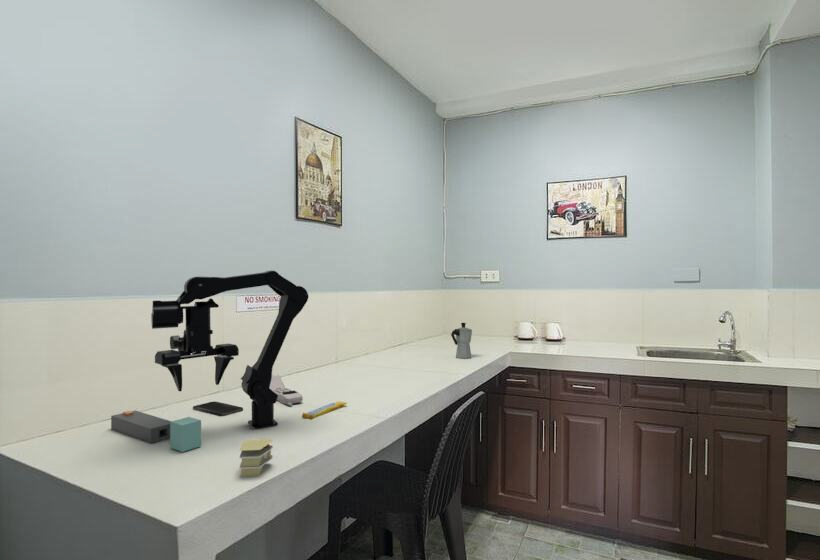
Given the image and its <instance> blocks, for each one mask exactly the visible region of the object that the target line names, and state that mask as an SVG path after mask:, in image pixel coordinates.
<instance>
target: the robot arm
mask: <svg viewBox="0 0 820 560" xmlns="http://www.w3.org/2000/svg"><path fill="white" fill-rule="evenodd" d="M265 286H267V287H269V288H270V289H271V290H272V291H273V292H274V293H276V295H278V296H280V299H279V302H278V312H277V316H276V317H275V318H276V319H275V320H274V323H273V324H272V327H271V330H270V332H269V333H268V336H267V338H266V340H265V343H264V346H263V347H262V350H261V352H260V353H259V356H258V359H257V361H255V363H254V364H253V365H252V366H251V365H246V367H245V371H244V373H243V375H242V376H241V377H240V380H241V388H242V391H243V392H244V393H245V394H246V395H247V396H249V398H250V400H252V401H251V419H250V420H248V421H247V423H248V425H250V427H251V428H252V429H260V428H265V427H270V426H271V427H272V426H277V425H278V422H277V420H276V419H275V418H274V417H275V416H274V414H275V413H274V411H275V409H274V407H275V406H274V404H276V403H277V401H278V400H277V397H278V395H277V394H276V393H274V392H273V391H272V390H271V389H270V388H269V387H270V383H271V379H272V376H273V367H274V364H275V361H276V360H277V357H278V355H279V353H280V351H281V349H282V346H283V345H284V342H285V339H286V337H287V336H288V332H289V331H290V329H291V325H292V324H293V321H294V320H295V318H296V317H297V316H298V315H299V313H301V312H302V310H303V309H304V307H305V306H306V304H307V302H308V300H309V293H308V291H307V290H306V288H305V287H303V286H301V285H296V284H295V283H293V282H292V281H291V280H289V279H287V278H285V277H283V276H282V275H281V274H279V272H277V271H276V270H267V271H264V272H256V273H248V274H241V275H235V276H234V275H233V276H223V277H221V276H220V277H219V276H192V277H190V278H188V279H187V280H186V281H185V283H184V284H183V287H184V288H183V291H182V292H181V294H180V295H179V296H178V297H177V299H176V300H153V301H152V310H151V315H150V317H151V329H154V330H155V329H157V330H158V329H171V328H178V327H179V324H183V323H184V310H185V329H184V330H183V335H182V337H180V335H171V336H170V337H169V347H170V349H167V350H160V351H159V350H158V351H156V353H155V355H154V363H155V364H157V365H160V366H161V367H164V368H167V370H168V371H169V373H170V375H171V376H172V379H173V381H174V383H175V387H176V388H177V391H178V392H182V390H183V389H182V388H183V366H182V364H181V363H179V362H180V361H181V360H188V359H196V358H197V359H198V358H205V357H209V356H210V357H211V356H213V358H214V361H215V362H214V364H215V373H214V374H215V375H214V381H215V385H216V386H219V385H220V382H221V380H222V378H223V375H224V373H225V371H226V370H227V367H228V365H229V364H230V362H231V361H232V360H234V359H235V357H237V356H239V354H240V351H239V346H238V345H237V344H233V343H221V344H216V345H215V347H214V346H213V345H212V344H211V340H212V339H211V335H213V333H214V331H213V329H211V308H214V309H215V308H216V309H217V308H219V306H220V305H219V304H218V303H216V302H215V301H214V299H213V297H214V296H217V295H219V294H222V293H225V292H229V291H235V290H236V291H237V290H243V289H250V288H257V287H265ZM210 297H212V298H210ZM207 298H209V299H207ZM205 299H207V300H206V301H205ZM195 300H204V301H195ZM193 302H194V305H189V304H190V303H193ZM181 305H183V306H181ZM184 305H186V306H184Z"/></svg>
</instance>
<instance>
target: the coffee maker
mask: <svg viewBox="0 0 820 560" xmlns="http://www.w3.org/2000/svg"><path fill="white" fill-rule="evenodd" d="M460 324H461V327H459V328H455V329H453V330H452V332H451V334H450V336H451V338H452V340H453V343H454V344H455V346H457V347H456V353H455V359H459V360H468V359H472V352H471V351H472V350H471V345H470V344H471V341H472V334H473V329H472V328H468V327H466V324H467V323H466V322H461V323H460Z"/></svg>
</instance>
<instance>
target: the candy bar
mask: <svg viewBox="0 0 820 560" xmlns="http://www.w3.org/2000/svg"><path fill="white" fill-rule="evenodd" d="M346 405H348V402H344V401H336V402H331V403H329V404H326V405H324V406H321V407H318V408H315V409H313V410H311V411H308V412H306V413H305V412H302V414H301V417H302V419H310V420H312V419H313V420H314V419H316V418H318V417H321V416H323V415H324V416H325V415H326V414H328V413H331V412H334V411H336V410H338V409H341V408H343V407H344V406H346Z"/></svg>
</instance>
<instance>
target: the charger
mask: <svg viewBox="0 0 820 560" xmlns="http://www.w3.org/2000/svg"><path fill="white" fill-rule="evenodd" d="M170 421H171V422H170V438H169V439H170V444H169V445H170V446H169V447H170V449H173V450H176V451H178V452H181V453H184V452H187V451H190V450H194V449H197V448H199V447H202V420H201V419H197V418H194V417H191V416H188V417H187V416H186V417H184V418H180V419H179V418H178V419H176V420H170Z"/></svg>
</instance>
